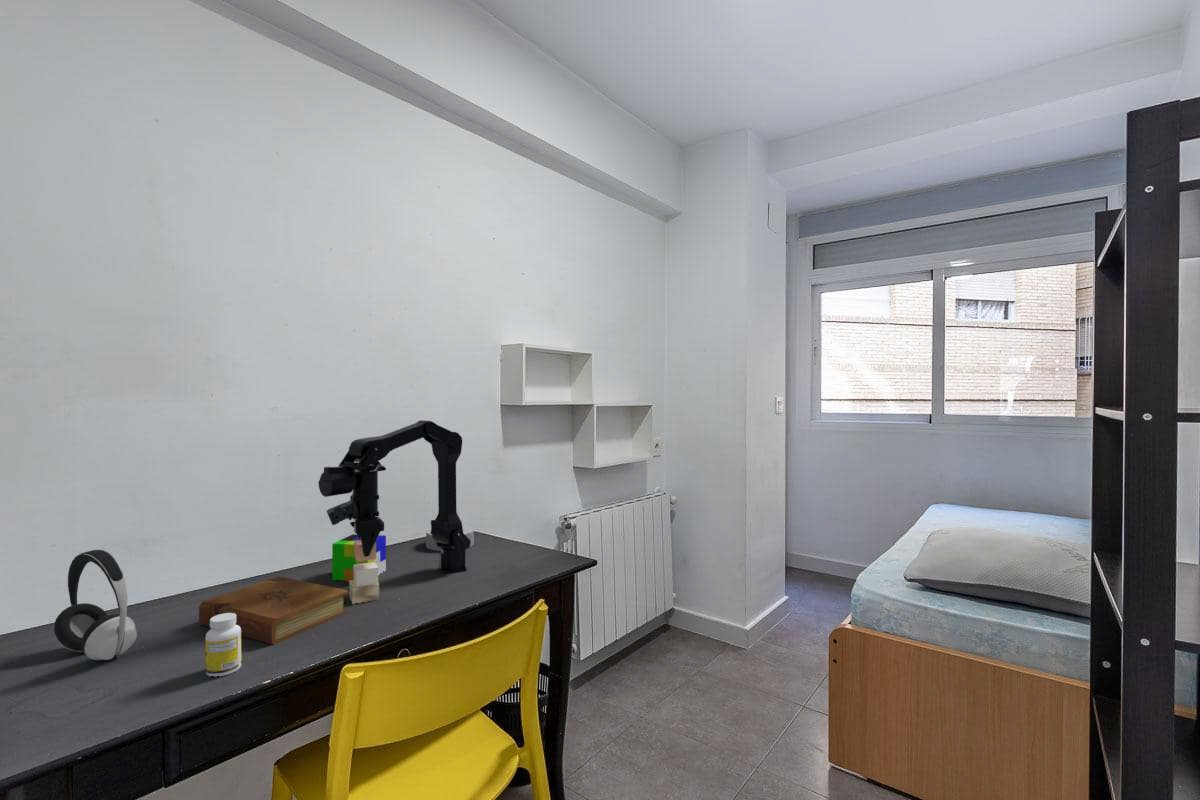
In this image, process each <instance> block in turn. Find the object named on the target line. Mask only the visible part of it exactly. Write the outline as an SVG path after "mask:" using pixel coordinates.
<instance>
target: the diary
mask: <svg viewBox="0 0 1200 800" xmlns="http://www.w3.org/2000/svg"><path fill="white" fill-rule="evenodd" d="M348 594H349V590H348V589H345V588H344V589H343V588H338V587H334V586H333V587H332V586H328V585H323V584H320V583H313V582H309V581H304V580H300V579H294V578H289V577H284V576H275V577H272V578H269V579H266V580H263V581H261V582H257V583H254V584H251V585H248V586H245V587H243V588H239V589H235V590H233V591H230V592H227V593H223V594H220V595H218V596H214V597H211V598H207V599H205V600H202V602H201V603H200V604H199V606H198V624H199V625H200V626H203V627H206V626H207V627H208V628H210V619H211V618H212V617H214V616H216V615H219V614H224V613H235V614H236V623H235V624H236V625H238V626H240V628H241V637H244V638H248V639H250V640H253V641H258V642H262V643H266V644H268V645H269V644H270V645H272V644H273V645H274V644H275V645H277V644H279V643H281V642H283V640H284V641H286V640H287V639H288V640H289V639H290V638H293V637H295V636H297V635H299V633H300V634H301V632H302V633H304V632H306V631H308V629H309V630H310V629H313V628H315V627H317V626H320V625H322V624H324V623H327V622H329V621H331V620H333V619H335V617H336V618H337V616H338V617H340V616H342V615H344V613H345V614H347V613H348V612H349V611H348V610H349V609H348V610H347V609H344V596H346V595H348ZM346 612H347V613H346ZM341 614H342V615H341ZM339 615H340V616H339ZM276 643H277V644H276ZM275 645H274V646H275Z"/></svg>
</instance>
